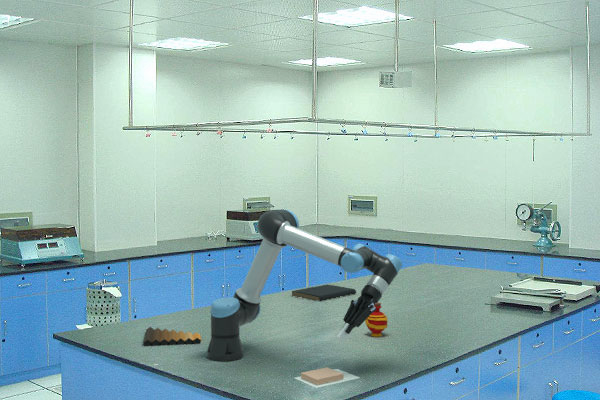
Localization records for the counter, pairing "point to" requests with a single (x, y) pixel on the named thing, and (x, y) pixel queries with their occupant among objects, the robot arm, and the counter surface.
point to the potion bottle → (377, 321)
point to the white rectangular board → (346, 378)
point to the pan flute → (169, 337)
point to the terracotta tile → (322, 376)
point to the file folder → (323, 292)
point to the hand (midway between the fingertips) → (339, 339)
